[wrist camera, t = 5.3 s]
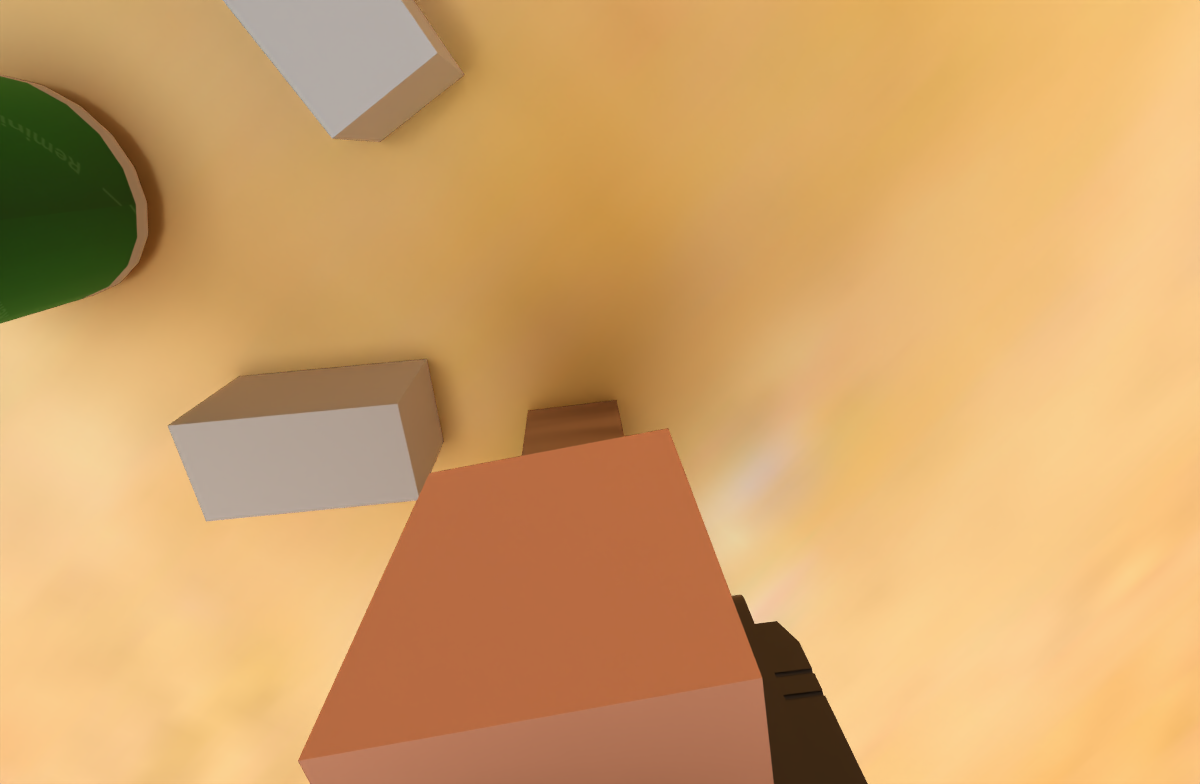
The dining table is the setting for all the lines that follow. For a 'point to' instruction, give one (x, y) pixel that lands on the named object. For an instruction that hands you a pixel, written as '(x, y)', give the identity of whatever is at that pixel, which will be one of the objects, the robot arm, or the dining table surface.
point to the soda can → (62, 203)
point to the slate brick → (311, 440)
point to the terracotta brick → (550, 635)
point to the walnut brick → (571, 426)
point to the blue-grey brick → (353, 59)
